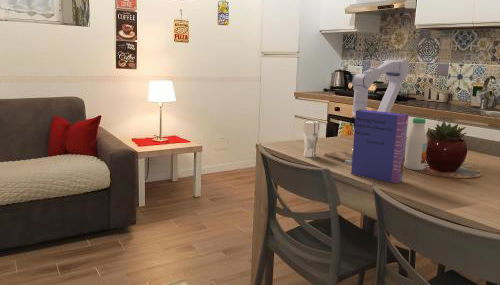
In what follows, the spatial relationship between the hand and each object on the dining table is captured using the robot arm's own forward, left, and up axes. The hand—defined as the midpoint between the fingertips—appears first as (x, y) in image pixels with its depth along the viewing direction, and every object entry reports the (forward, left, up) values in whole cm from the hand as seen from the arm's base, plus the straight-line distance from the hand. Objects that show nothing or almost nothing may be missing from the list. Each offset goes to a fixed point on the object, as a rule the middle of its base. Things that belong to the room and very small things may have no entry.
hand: (357, 133), depth 192 cm
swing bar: (+3, +8, -9) cm, 12 cm away
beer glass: (+18, -9, -11) cm, 22 cm away
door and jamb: (+3, +6, -10) cm, 12 cm away
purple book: (+16, +29, -11) cm, 34 cm away
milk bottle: (-9, +24, -11) cm, 28 cm away
